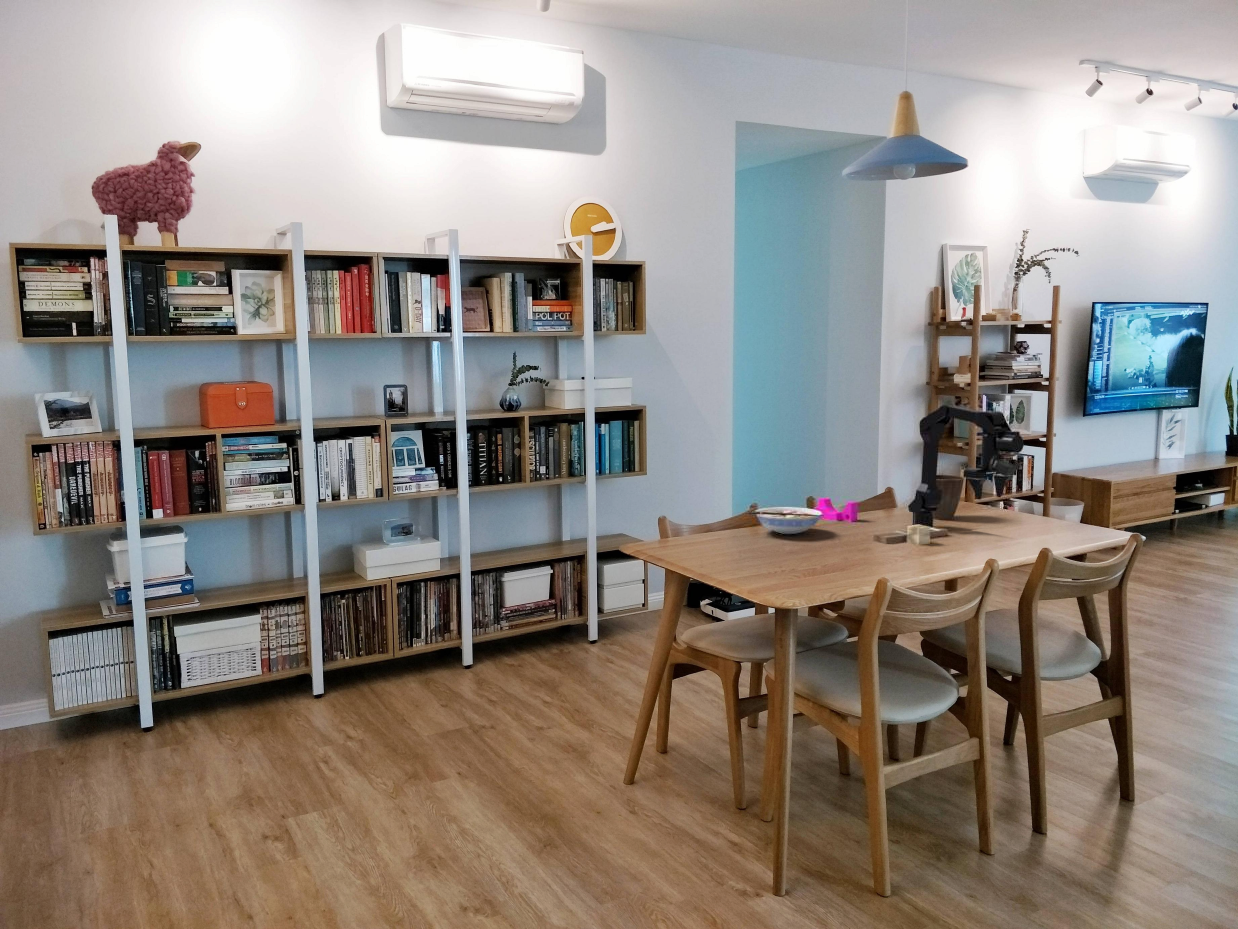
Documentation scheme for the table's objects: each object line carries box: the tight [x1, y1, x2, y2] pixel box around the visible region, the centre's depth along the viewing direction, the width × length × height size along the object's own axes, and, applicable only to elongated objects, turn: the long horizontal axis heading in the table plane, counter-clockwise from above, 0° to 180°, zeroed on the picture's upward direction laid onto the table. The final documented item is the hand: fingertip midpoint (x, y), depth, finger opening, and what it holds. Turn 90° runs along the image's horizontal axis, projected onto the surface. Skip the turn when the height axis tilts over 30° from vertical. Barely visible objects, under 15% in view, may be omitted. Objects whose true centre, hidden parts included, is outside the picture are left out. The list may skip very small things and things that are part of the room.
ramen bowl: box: [748, 506, 824, 535], centre depth 334 cm, size 25×23×8 cm
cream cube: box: [903, 524, 931, 546], centre depth 316 cm, size 6×5×6 cm
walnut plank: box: [872, 526, 949, 545], centre depth 324 cm, size 6×28×2 cm, turn 119°
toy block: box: [813, 497, 859, 523], centre depth 359 cm, size 15×6×8 cm, turn 40°
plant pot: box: [921, 474, 965, 521], centre depth 357 cm, size 15×15×16 cm
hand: (989, 498), depth 315 cm, fingers open, 9 cm apart
